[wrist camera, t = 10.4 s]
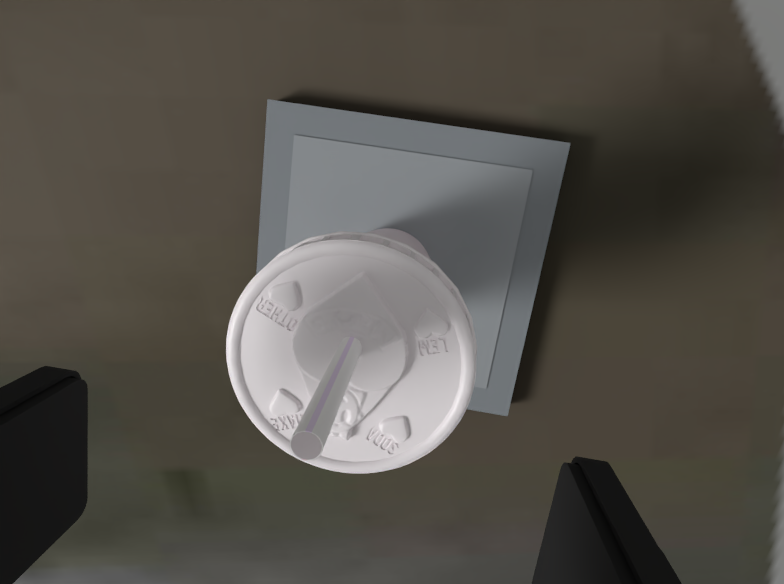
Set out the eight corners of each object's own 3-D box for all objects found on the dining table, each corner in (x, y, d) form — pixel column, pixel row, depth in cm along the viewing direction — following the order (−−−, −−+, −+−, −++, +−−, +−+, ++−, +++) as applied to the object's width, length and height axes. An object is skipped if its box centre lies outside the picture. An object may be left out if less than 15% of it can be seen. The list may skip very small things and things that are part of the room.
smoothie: (479, 211, 21) (543, 337, 8) (446, 355, 23) (450, 659, 9) (325, 181, 21) (121, 250, 8) (305, 325, 23) (113, 581, 10)
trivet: (504, 405, 24) (507, 416, 23) (257, 362, 25) (249, 372, 24) (564, 143, 21) (571, 143, 20) (275, 101, 22) (266, 99, 20)
